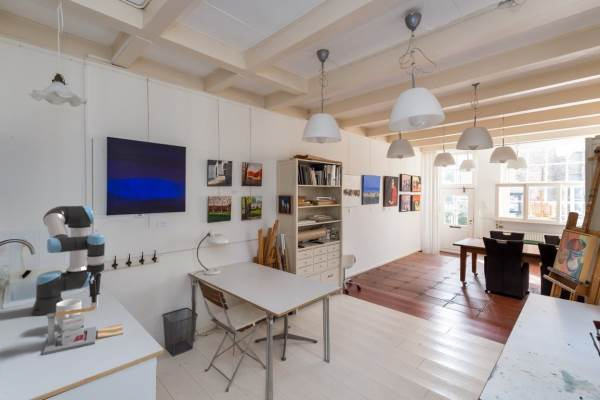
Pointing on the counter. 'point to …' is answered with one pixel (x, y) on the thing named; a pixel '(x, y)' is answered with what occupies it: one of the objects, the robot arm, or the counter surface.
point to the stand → (53, 340)
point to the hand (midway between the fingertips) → (94, 307)
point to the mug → (67, 308)
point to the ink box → (72, 329)
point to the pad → (110, 331)
